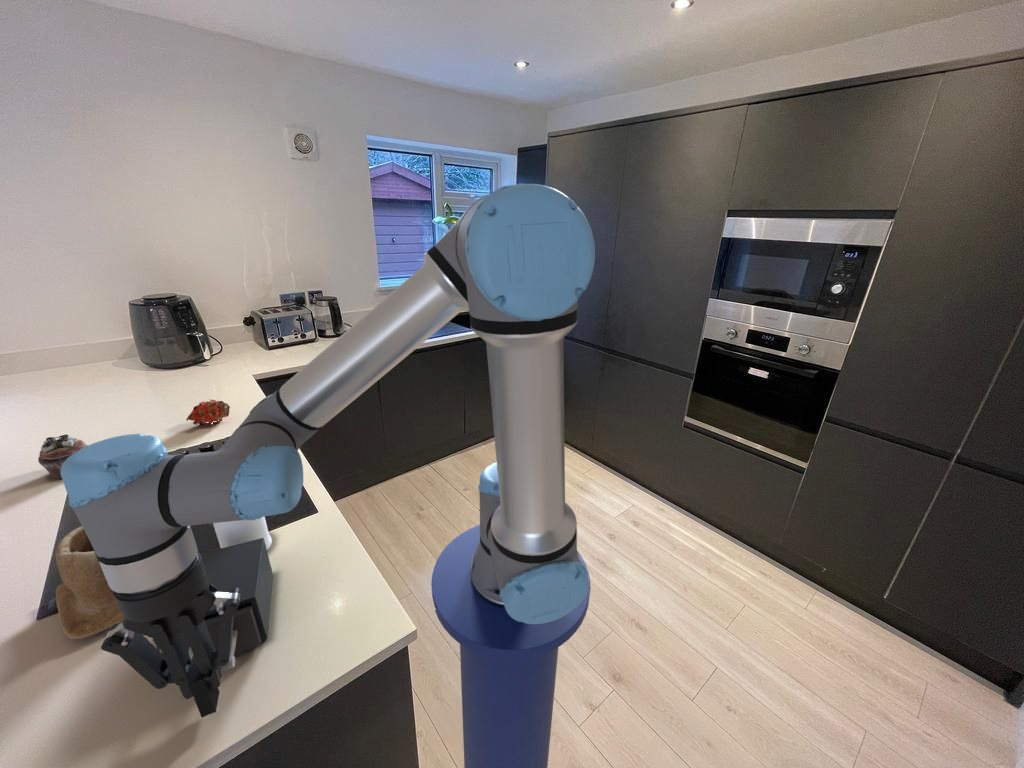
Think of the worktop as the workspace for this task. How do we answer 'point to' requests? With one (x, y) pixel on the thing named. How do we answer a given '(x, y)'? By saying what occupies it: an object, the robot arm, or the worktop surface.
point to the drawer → (234, 634)
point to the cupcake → (58, 453)
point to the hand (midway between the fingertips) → (210, 704)
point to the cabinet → (243, 577)
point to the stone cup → (83, 589)
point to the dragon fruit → (209, 412)
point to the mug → (242, 532)
